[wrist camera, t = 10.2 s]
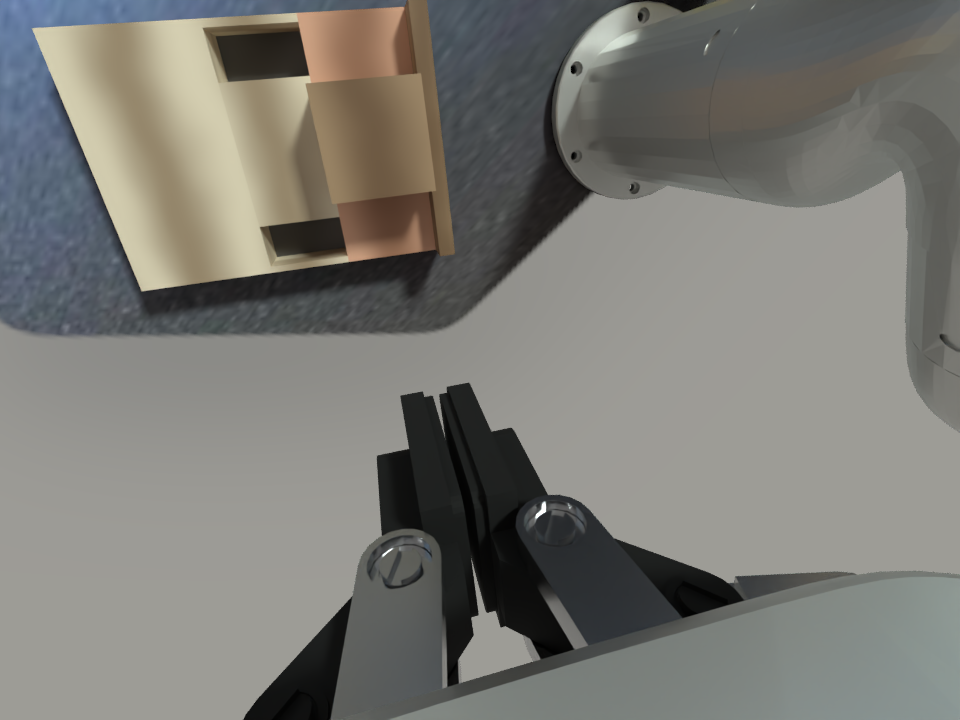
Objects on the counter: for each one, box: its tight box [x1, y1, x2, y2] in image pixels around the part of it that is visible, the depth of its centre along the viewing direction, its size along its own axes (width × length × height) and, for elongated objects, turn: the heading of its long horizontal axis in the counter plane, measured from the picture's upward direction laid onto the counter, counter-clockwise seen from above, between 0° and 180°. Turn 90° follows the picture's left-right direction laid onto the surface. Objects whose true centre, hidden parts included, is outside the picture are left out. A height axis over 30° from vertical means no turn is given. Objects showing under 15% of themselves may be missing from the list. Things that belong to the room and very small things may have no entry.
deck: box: [32, 0, 455, 291], centre depth 30 cm, size 20×14×5 cm
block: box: [305, 73, 436, 204], centre depth 28 cm, size 6×6×4 cm
